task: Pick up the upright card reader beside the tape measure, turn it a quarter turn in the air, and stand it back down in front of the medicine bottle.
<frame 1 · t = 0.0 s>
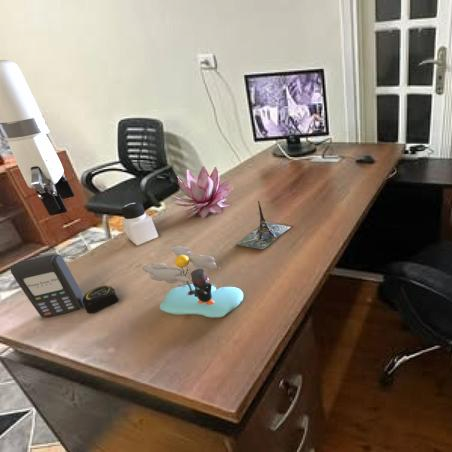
hand: (63, 205, 78), 25 cm above the table, tool pointing down, fingers open, 9 cm apart
decorative flower: (208, 211, 129), on the table
penguin figurine: (203, 304, 84), on the table
eiffel tower figurine: (265, 236, 110), on the table
medicine bottle: (144, 238, 115), on the table
card reader: (65, 311, 86), on the table
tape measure: (105, 306, 86), on the table
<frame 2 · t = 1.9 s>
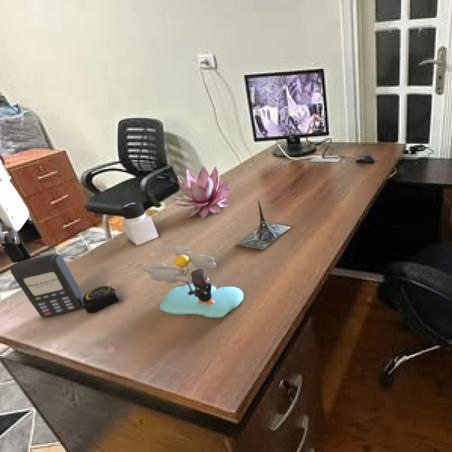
hand: (29, 249, 77), 18 cm above the table, tool pointing down, fingers open, 9 cm apart
nothing on the table moved.
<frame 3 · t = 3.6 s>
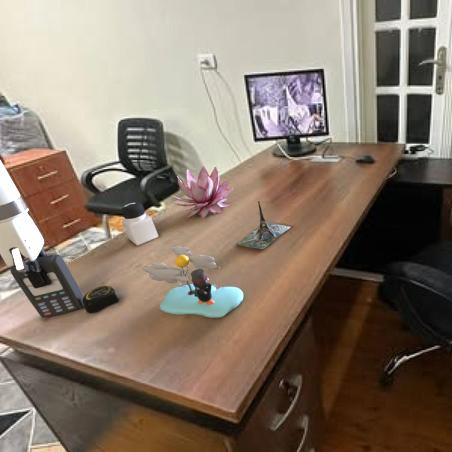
hand: (45, 279, 81), 10 cm above the table, tool pointing down, fingers closed on card reader, 4 cm apart
card reader: (65, 311, 86), on the table, touching gripper
everything else where it was.
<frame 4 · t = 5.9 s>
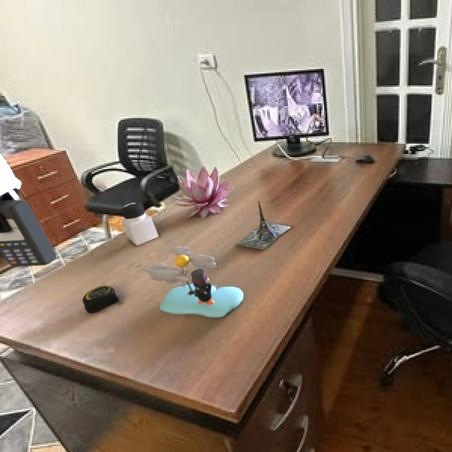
hand: (11, 225, 74), 24 cm above the table, tool pointing down, fingers closed on card reader, 4 cm apart
card reader: (34, 263, 79), point 14 cm above the table, touching gripper
everything else where it was.
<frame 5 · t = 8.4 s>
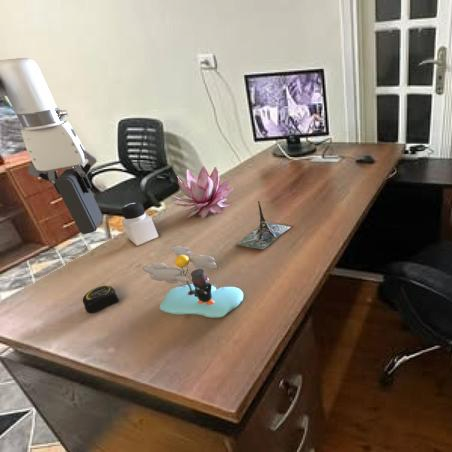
hand: (76, 192, 87), 24 cm above the table, tool pointing down, fingers closed on card reader, 4 cm apart
card reader: (93, 227, 92), point 14 cm above the table, touching gripper
everything else where it was.
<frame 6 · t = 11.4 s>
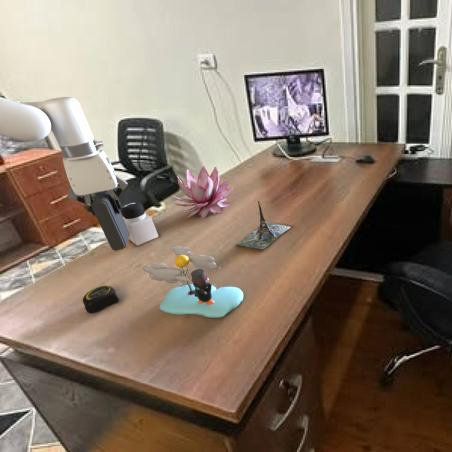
hand: (108, 213, 97), 15 cm above the table, tool pointing down, fingers closed on card reader, 4 cm apart
card reader: (122, 243, 101), point 6 cm above the table, touching gripper
everything else where it was.
when the fingers open (10 cm above the table, at t = 13.4 s): card reader stays where it is, on the table.
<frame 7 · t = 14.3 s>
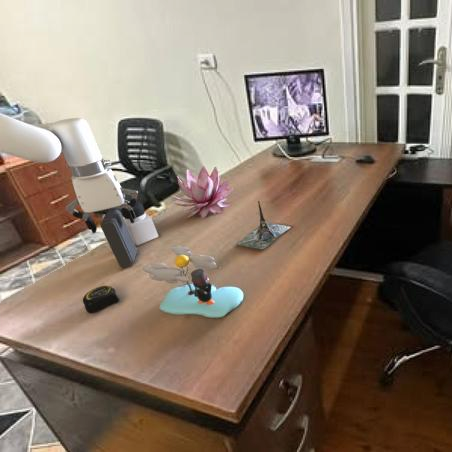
hand: (114, 226, 99), 11 cm above the table, tool pointing down, fingers open, 9 cm apart
card reader: (129, 260, 104), on the table
everything else where it was.
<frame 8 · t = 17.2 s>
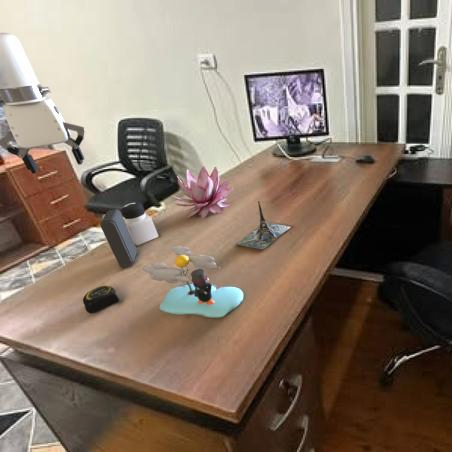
hand: (58, 167, 87), 30 cm above the table, tool pointing down, fingers open, 9 cm apart
nothing on the table moved.
at the end: card reader inside the target area on the table beside the medicine bottle (0.2 cm from its centre), on the table; card reader tilted 0°; the gripper is holding nothing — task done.
